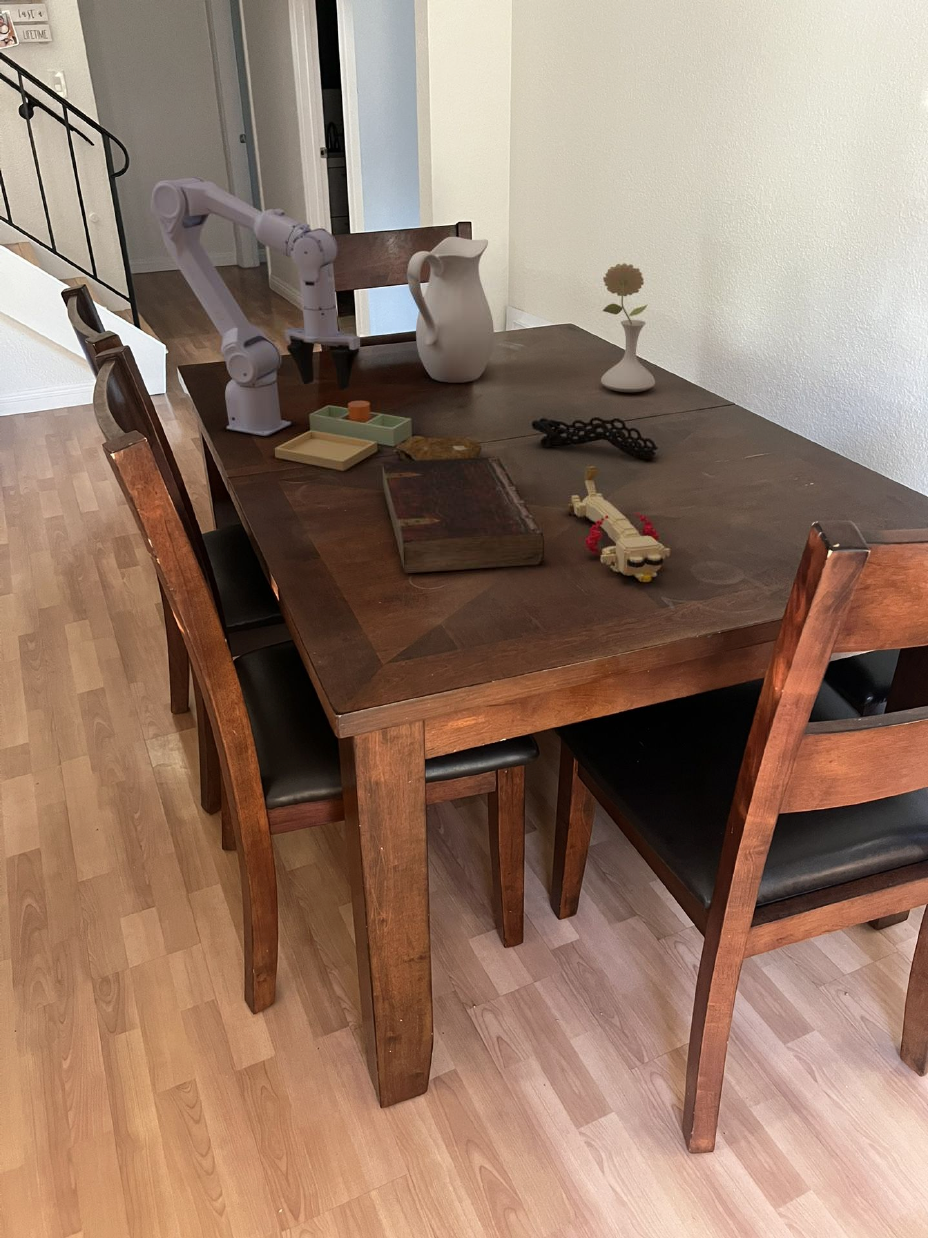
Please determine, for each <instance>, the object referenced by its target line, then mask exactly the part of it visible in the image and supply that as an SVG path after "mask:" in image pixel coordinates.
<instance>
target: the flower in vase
mask: <svg viewBox="0 0 928 1238" xmlns="http://www.w3.org/2000/svg"><path fill="white" fill-rule="evenodd" d="M602 280H603V282H604V286H605V287H606V290H607V291H608V292H609V293H611V294H612V295H614V294H616V295H617V296H618V297H621V298H620V299H621V301H620V302H621V303H620V304H621V305H619V304H617V303H610V304H608V305H606V306H605V307H604V309H602V312H605V313H609V314H612V315H619V314H620V313H621V312H622V311H623V313H624V314H625V316H626V318H627V319H625V320H621V321H620V324H621V325H622V328H623V330H624V336H625V349H624V355H623V357H622V358H621V360H620V361H619V362H618V363H617V364H615V365H613V366H612V367H611V368H609V369H607V371H606V372H605V373H604V374H603V375H602V376H601V379H600V383H601V384H602V386H604V387H605V388H606V389H609V390H612V391H616V392H620V393H640V392H644V391H648V390H650V389H652V388H653V387H654V386H655V384H656V381H655V378H654V376H653V374H652V373H651V372H650V370H648V369H647V368H646V367H645V366H644V365H642V364H641V362H639V360H638V357H637V347H638V341H639V336H640V333H641V331H642V329H643V327H644V326H645V325H646V322H645V321H644V320H641V319H640V320H639V319H631V318H630V317H632V316H633V317H634V316H637V315H639V314H641V313H642V312H643V311H645V310H646V308H647V307H648V304H646V305H642V306H640V307H636V308H634V309H633V310H632V311H631V312H630V313H629V314H628V312H627V310H626V308H625V307H624V297H627V296H632V295H633V294H638V293H639V292H640V289H642V287H643V286H644V284H645V282H644V278H643V273H642V272H641V269H640V268H638V267H637V268H636V267H634V265H633V264H627V263H626V262H624V263H622V264H620V263H617V264H616V265H615V266H611V267H610V268H608V269H607V271H606V273H605V276H603V277H602Z"/></svg>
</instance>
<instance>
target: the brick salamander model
mask: <svg viewBox="0 0 928 1238" xmlns="http://www.w3.org/2000/svg"><path fill="white" fill-rule="evenodd" d="M584 472H585V473H584V483H585V488H586V491H587V494H588V495H586V497H584V498H583V500H582V501H581V499H580V496H579V495H576V494H575V495H571V501H570V503H567V506H566V508H567V509H566V510H567V511H568V512H570V513H571V515H573V516H577V517H578V518H584V517H586V518H587V519H589V521H591V522H593V523H595V524H592V526H591V527H589V535H587V537H586V538H585V539H584V540H585V541H584V545H585V546H586V547H587V549H588V551H589V552H592V553H594V555H596V556H599V557H600V563H601V564H605V565H606V566H607V565H608V566H609V565H610V566H609V568H610V569H611V570H612V571H613V572H616V573H622V574H623V575H624V576H627V577H629V576H634V577H635V578H636V579H637V580H638V581H639V582H642V583H648V582H651V581H652V578H655V577H658V573H657V572H658V571H659V570H660V569H661V567H662V564H663V563H664V559H666V558H667V557H670V555H671V549H670V548H669V547H667V548H666V547H665V546H664V545H663V544H662V543H661V542H659V537H660V536H659V534H657V530H656V529H654V528H653V523H652V521H651V520H650V519H647V516H646V515H643V514H639V513H638V512H634V516H635V517H638V518H640V522H644V526H642V527H641V534H642V535H641V534H640V533H639V530H638V529H637V528H636V527H635V526H634V525H632V524H631V521H630V520H629V518H627V517H626V516H625V515H624V514H623V513H622V512H620V510H618V509H617V508H616V507H615V506H614V505H613V504H611V503H610V502H609V501H608V500H606V499H604V497H603V494H602V493H600V492H599V493H597V490H596V485H595V480H594V479H595V478H596V477H597V468H596V466H595V465H587V467H586V468H585V471H584ZM599 527H601V528H602V529H603V530H604V532H606V533H607V536H608V537H609V538H610V539H611V540H612V542H614V543H615V545H612V546H611V545H610V546H607V547H603V548H602V549H601V553H599V548H598V547H597V546H598V541H599V540H601V539H602V538H603V534H602V530H598V529H599ZM612 563H614V565H612Z"/></svg>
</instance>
